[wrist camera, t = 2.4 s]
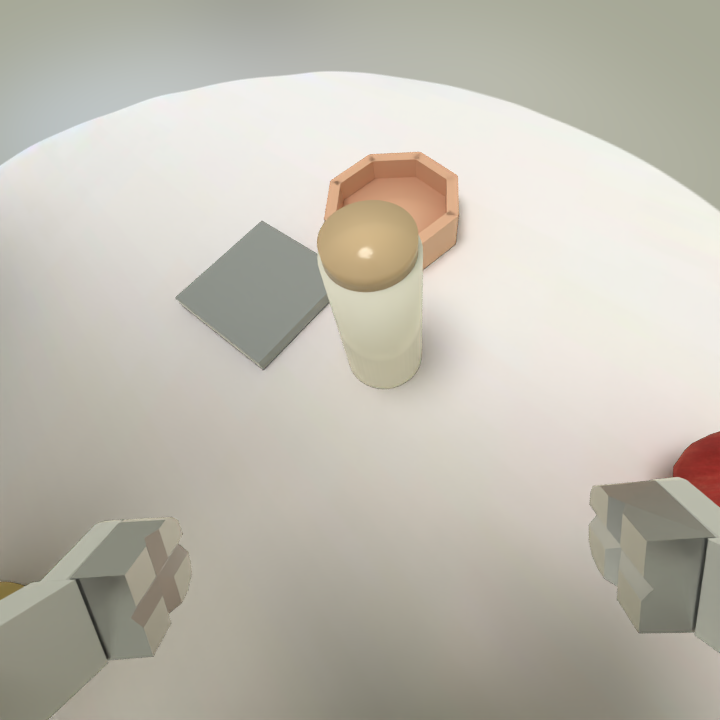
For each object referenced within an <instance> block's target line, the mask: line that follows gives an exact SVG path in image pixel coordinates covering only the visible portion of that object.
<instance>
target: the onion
mask: <svg viewBox="0 0 720 720" xmlns="http://www.w3.org/2000/svg"><path fill="white" fill-rule="evenodd" d="M673 477H680V478H683V479H686V480H687V481H689V482H690V483H691V484H692V485H693V486H695V487H696V488H697V489H698V490H699V491H701V492H702V493H703V494H704V495H705V496H707V497H708V498H709V499H710V500H711V501H713V502H714V503H715V504H716V505H717V506H719V507H720V431H719V432H716V433H713V434H710V435H708V436H706V437H704V438H702V439H700V440H698V441H696V442H694V443H692V444H691V445H690V446H689V447H688V448H687V449H686V450H685V451H684V452H683V453H682V455H681V456H680V458H679V459H678V461H677V462H676V464H675V465H674V467H673Z"/></svg>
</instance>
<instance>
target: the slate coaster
mask: <svg viewBox="0 0 720 720" xmlns="http://www.w3.org/2000/svg"><path fill="white" fill-rule="evenodd" d="M317 256H318V254H317V253H315V252H313V251H312V250H310V249H308V248H307V247H305V246H303V245H302V244H300V243H298V242H297V241H295V240H293V239H292V238H290V237H288V236H287V235H285V234H283V233H282V232H280V231H278V230H277V229H275V228H273V227H272V226H270V225H268V224H267V223H265V222H263V221H261V222H260V223H259V224H258V225H256V226H255V227H254V228H253V229H252V230H251V231H250V232H249V233H247V234H246V235H245V236H244V237H243V238H242V239H241V240H240V241H238V242H237V243H236V244H235V245H234V246H233V247H232V248H231V249H229V250H228V251H227V252H226V253H225V254H224V255H223V256H222V257H220V258H219V259H218V260H217V261H216V262H215V263H214V264H213V265H212V266H210V267H209V268H208V269H207V270H206V271H205V272H204V273H203V274H201V275H200V276H199V277H198V278H197V279H196V280H195V281H194V282H192V283H191V284H190V285H189V286H188V287H187V288H186V289H185V290H183V291H182V292H181V293H180V294H179V295H178V296H177V297H176V299H177V300H178V301H179V303H180V304H181V305H182V306H183V307H184V308H186V309H187V310H188V311H189V312H191V313H192V314H193V315H195V316H196V317H197V318H198V319H200V320H201V321H202V322H203V323H205V324H206V325H207V326H208V327H210V328H211V329H212V330H213V331H215V332H216V333H217V334H218V335H220V336H221V337H222V338H224V339H225V340H226V341H227V342H229V343H230V344H231V345H232V346H234V347H235V348H236V349H237V350H239V351H240V352H241V353H242V354H244V355H245V356H246V357H247V358H249V359H250V360H251V361H253V362H254V363H255V364H256V365H258V366H259V367H260V368H261V369H263V370H264V369H265V368H266V367H267V366H268V365H269V364H270V363H271V362H272V360H273V359H274V358H275V357H276V356H277V355H278V354H279V353H280V352H281V351H282V350H283V349H284V348H285V347H286V346H287V345H288V344H289V343H290V342H291V341H292V340H293V339H294V338H295V337H296V336H297V335H298V334H299V333H300V332H301V331H302V330H303V328H304V327H305V326H306V325H307V324H308V323H309V322H310V321H311V320H312V319H313V318H314V317H315V316H316V315H317V314H318V313H319V312H320V311H321V310H322V309H323V308H324V307H325V306H326V305H327V304H328V303H329V299H328V296H327V292H326V289H325V286H324V283H323V280H322V277H321V273H320V270H319V267H318V261H317Z"/></svg>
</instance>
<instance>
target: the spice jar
mask: <svg viewBox="0 0 720 720" xmlns="http://www.w3.org/2000/svg"><path fill="white" fill-rule="evenodd" d="M317 248H318V256H317V261H318V267H319V270H320V273H321V277H322V280H323V283H324V286H325V289H326V292H327V296H328V299H329V302H330V305H331V308H332V311H333V314H334V318H335V321H336V324H337V327H338V330H339V333H340V337H341V340H342V343H343V346H344V349H345V352H346V355H347V359H348V362H349V365H350V368H351V370H352V372H353V374H354V375H355V376H356V377H357V378H358V379H359V380H360V381H361V382H363V383H364V384H366V385H368V386H371V387H374V388H379V389H388V388H394V387H397V386H400V385H402V384H404V383H406V382H407V381H408V380H410V379H411V378H412V377H413V376H414V375H415V373H416V372H417V370H418V368H419V366H420V363H421V357H422V288H423V246H422V241H421V239H420V236H419V235H418V228H417V225H416V222H415V220H414V219H413V217H412V216H411V215H410V214H409V213H408V212H407V211H406V210H405V209H403V208H402V207H400V206H398V205H396V204H393V203H390V202H386V201H381V200H365V201H359V202H355V203H352V204H349V205H346V206H344V207H342V208H340V209H339V210H337V211H336V212H334V213H333V214H332V215H331V216H330V217H329V218H328V219H327V220H326V221H325V222H324V224H323V225H322V227H321V229H320V231H319V234H318V238H317Z"/></svg>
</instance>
